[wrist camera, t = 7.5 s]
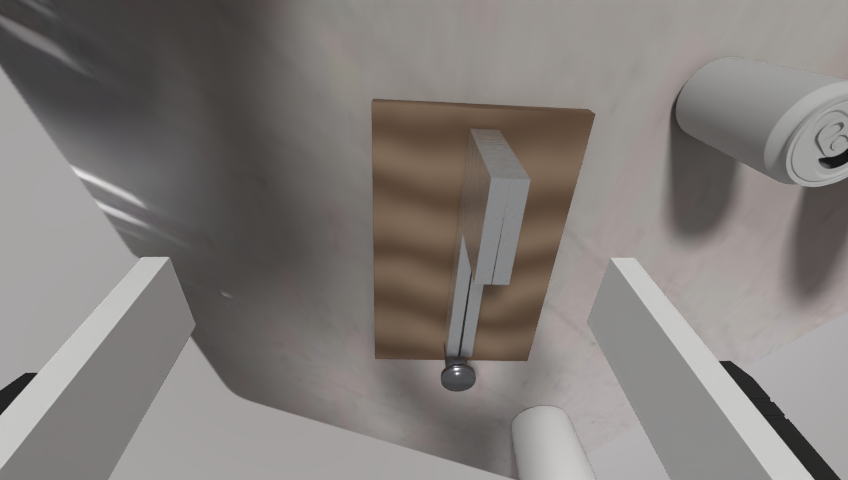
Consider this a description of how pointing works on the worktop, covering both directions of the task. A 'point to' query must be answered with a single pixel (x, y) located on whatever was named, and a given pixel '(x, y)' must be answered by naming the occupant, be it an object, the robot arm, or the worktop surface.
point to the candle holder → (548, 446)
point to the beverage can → (770, 118)
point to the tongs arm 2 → (506, 242)
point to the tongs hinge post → (457, 373)
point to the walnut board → (439, 213)
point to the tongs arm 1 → (476, 228)
